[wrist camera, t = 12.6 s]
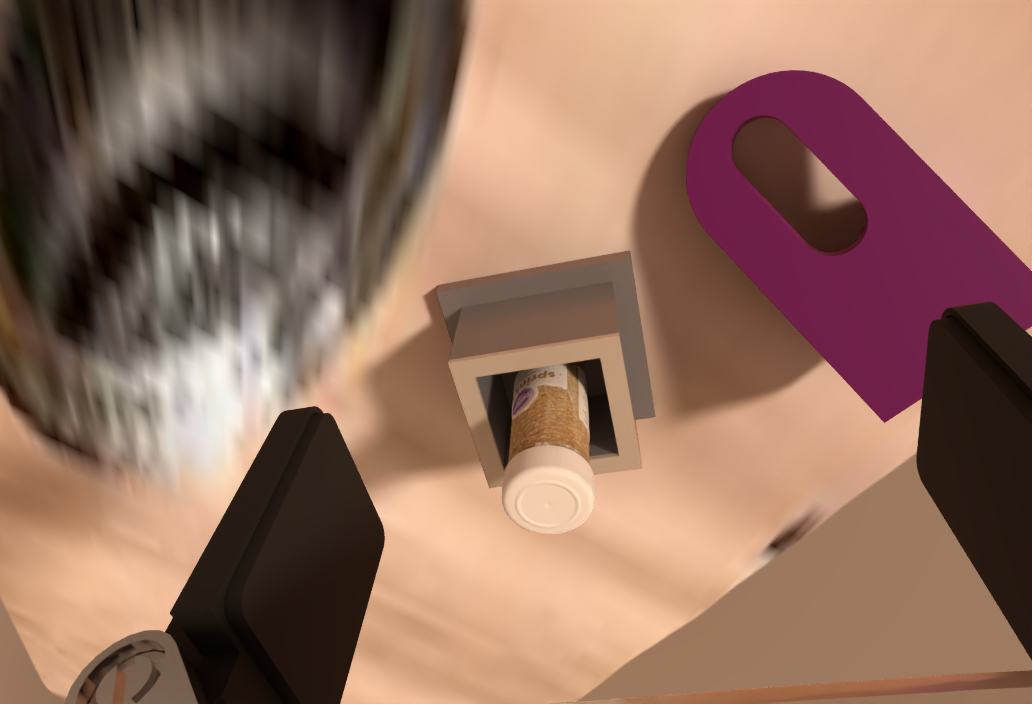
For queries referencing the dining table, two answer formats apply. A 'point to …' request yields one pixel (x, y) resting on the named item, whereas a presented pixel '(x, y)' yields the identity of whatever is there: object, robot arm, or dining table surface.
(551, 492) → the sprinkles bottle
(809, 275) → the mounting bracket
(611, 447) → the well
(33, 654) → the dining table surface
